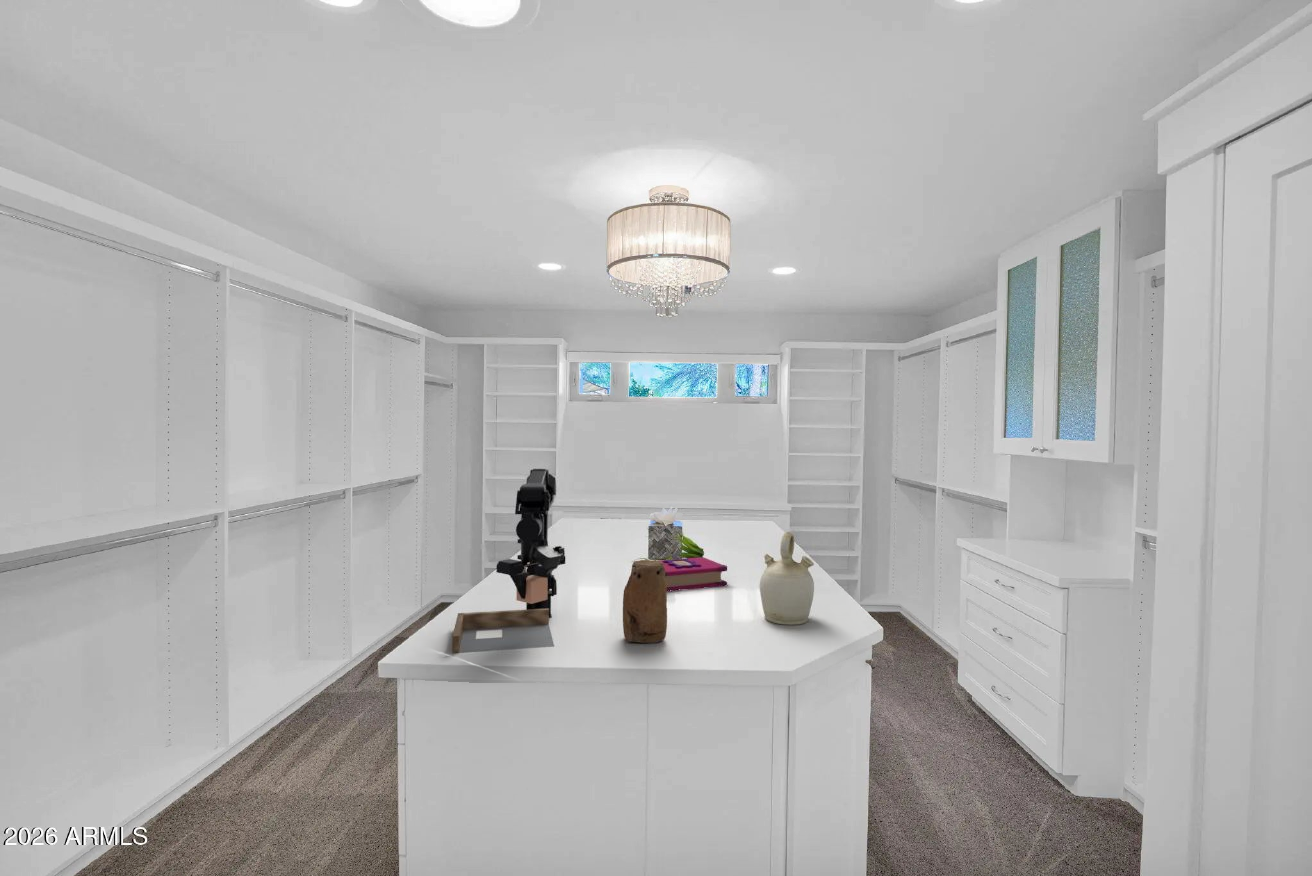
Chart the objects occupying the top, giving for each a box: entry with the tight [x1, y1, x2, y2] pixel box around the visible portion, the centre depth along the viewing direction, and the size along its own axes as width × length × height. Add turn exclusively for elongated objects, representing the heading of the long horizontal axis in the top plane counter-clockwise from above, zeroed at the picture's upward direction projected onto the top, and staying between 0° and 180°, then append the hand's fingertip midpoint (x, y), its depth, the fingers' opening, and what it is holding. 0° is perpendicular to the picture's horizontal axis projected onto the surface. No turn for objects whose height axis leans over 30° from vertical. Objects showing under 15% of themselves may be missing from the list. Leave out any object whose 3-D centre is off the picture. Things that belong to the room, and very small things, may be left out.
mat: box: [458, 623, 555, 654], centre depth 165 cm, size 24×20×1 cm
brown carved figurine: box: [622, 559, 668, 644], centre depth 164 cm, size 11×8×20 cm
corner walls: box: [451, 608, 550, 654], centre depth 165 cm, size 24×20×4 cm
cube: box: [515, 575, 548, 604], centre depth 163 cm, size 6×6×6 cm
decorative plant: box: [631, 527, 705, 563], centre depth 264 cm, size 18×30×15 cm, turn 88°
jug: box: [759, 531, 815, 626], centre depth 184 cm, size 15×16×25 cm
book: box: [658, 556, 728, 592], centre depth 228 cm, size 21×28×8 cm
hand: (531, 596), depth 164 cm, fingers closed on cube, 5 cm apart
